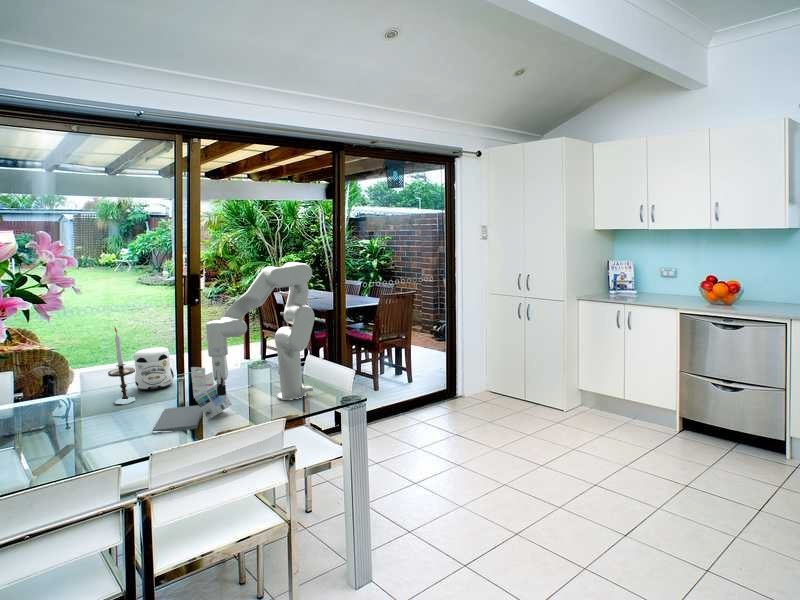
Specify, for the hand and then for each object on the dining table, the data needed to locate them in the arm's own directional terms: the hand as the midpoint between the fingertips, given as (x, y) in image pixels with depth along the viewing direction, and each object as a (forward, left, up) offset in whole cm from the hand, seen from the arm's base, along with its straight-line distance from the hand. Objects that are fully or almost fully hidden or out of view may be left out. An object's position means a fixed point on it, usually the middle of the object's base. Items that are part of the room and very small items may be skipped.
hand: (221, 394), depth 230 cm
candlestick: (+46, -33, -9) cm, 57 cm away
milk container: (+37, -52, -9) cm, 65 cm away
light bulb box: (+1, 0, -8) cm, 8 cm away
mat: (+17, 0, -9) cm, 19 cm away
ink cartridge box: (+11, -27, -9) cm, 31 cm away
